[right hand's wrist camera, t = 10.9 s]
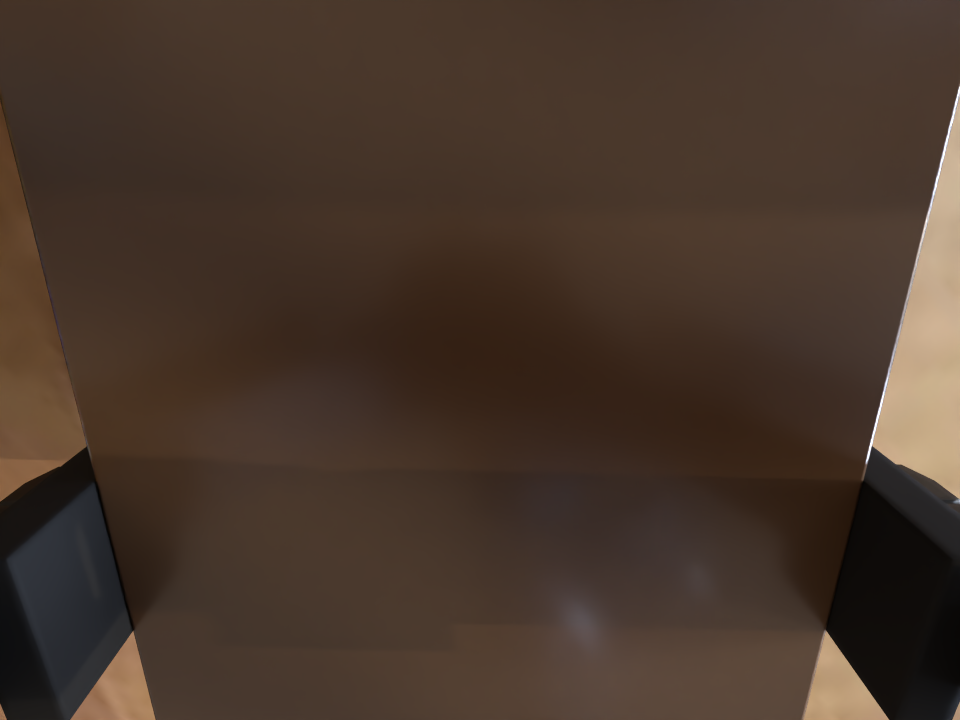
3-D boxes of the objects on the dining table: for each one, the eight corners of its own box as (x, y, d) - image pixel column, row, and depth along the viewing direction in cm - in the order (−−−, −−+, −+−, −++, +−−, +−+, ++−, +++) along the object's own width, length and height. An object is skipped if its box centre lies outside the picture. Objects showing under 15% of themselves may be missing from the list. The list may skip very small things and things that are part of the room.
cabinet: (253, -133, 14) (-217, -742, 5) (705, -133, 14) (1174, -741, 5) (317, 474, 19) (165, 770, 10) (641, 474, 19) (794, 769, 10)
